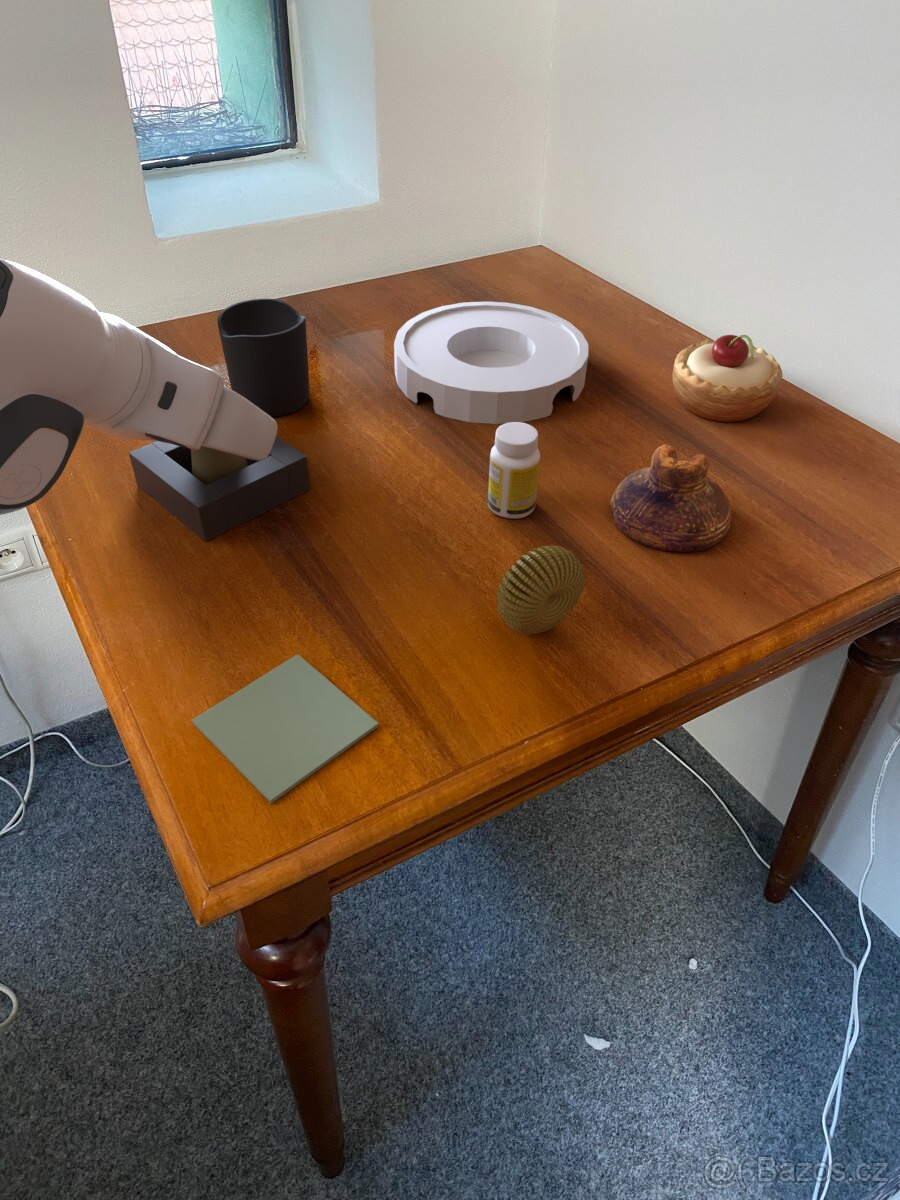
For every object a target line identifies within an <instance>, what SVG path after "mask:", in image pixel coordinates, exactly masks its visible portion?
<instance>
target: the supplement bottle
mask: <svg viewBox="0 0 900 1200" xmlns="http://www.w3.org/2000/svg"><path fill="white" fill-rule="evenodd" d="M538 442H539V432H538V430H537V429H536V428H535V427H534V426H533V425H531V424H528V423H527V422H510V423H505V424H500V426H498V427H497V429H496V430H495V437H494V445H493V446H492V448H491V450H490V455H489V471H488V473H489V474H488V490H487V506H488V508H489V510H490V511H491V512H492V513H493V514H495V515H496V516H499V517H501V518H505V519H512V520H513V519H514V520H515V519H522V518H525V517H527V516H529V515H531V514H532V513H533V512H534V510H535V508H536V505H537V496H538V494H537V493H538V484H539V476H540V464H541V452H540V450H539V448H538V445H539V443H538Z"/></svg>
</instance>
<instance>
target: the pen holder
mask: <svg viewBox="0 0 900 1200" xmlns="http://www.w3.org/2000/svg"><path fill="white" fill-rule="evenodd" d="M306 320H307V319H306V316H304V315H302V314H301V313H299V312H298V310H297V309H295V308H294V307H293V306H292V305H290V304H288V302H285V301H283V300H280V299H276V298H253V299H247V300H242V301H239V302H236V303H233V304H231V305H228V306H227V307H225V308H224V309H222V310H221V311H220V312H219V314H218V316H217V328H218V329H217V330H218V332H219V333H218V334H219V339H220V343H221V348H222V352H223V357H224V361H225V367H226V371H227V375H228V380H229V384H230V389H231V390H233V391H234V392H236V393H238V394H240V395H241V396H243V397H244V398H246V399H247V400H249V401H250V402H251V403H253V404H254V405H256V406H257V407H258V408H260V409H261V410H263V411H264V412H265V413H267V414H268V415H269V416H271V417H272V418H274V417H275V418H276V417H282V416H286V415H290V414H292V413H295V412H296V411H299V410H300V409H301V408H302V407H304V405H306V403H307V402H308V400H309V397H310V376H309V375H310V374H309V373H310V371H309V356H308V338H307V337H308V335H307V324H306V323H307V321H306Z"/></svg>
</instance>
